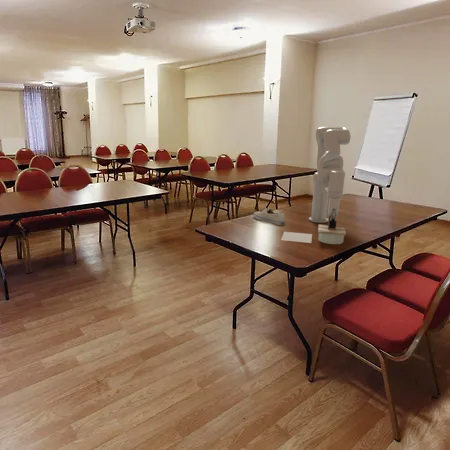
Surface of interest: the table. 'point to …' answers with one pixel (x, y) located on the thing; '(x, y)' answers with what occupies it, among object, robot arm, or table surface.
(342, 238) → the bowl
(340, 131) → the robot arm
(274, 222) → the boat shoe
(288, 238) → the mat
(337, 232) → the lid
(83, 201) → the table surface
